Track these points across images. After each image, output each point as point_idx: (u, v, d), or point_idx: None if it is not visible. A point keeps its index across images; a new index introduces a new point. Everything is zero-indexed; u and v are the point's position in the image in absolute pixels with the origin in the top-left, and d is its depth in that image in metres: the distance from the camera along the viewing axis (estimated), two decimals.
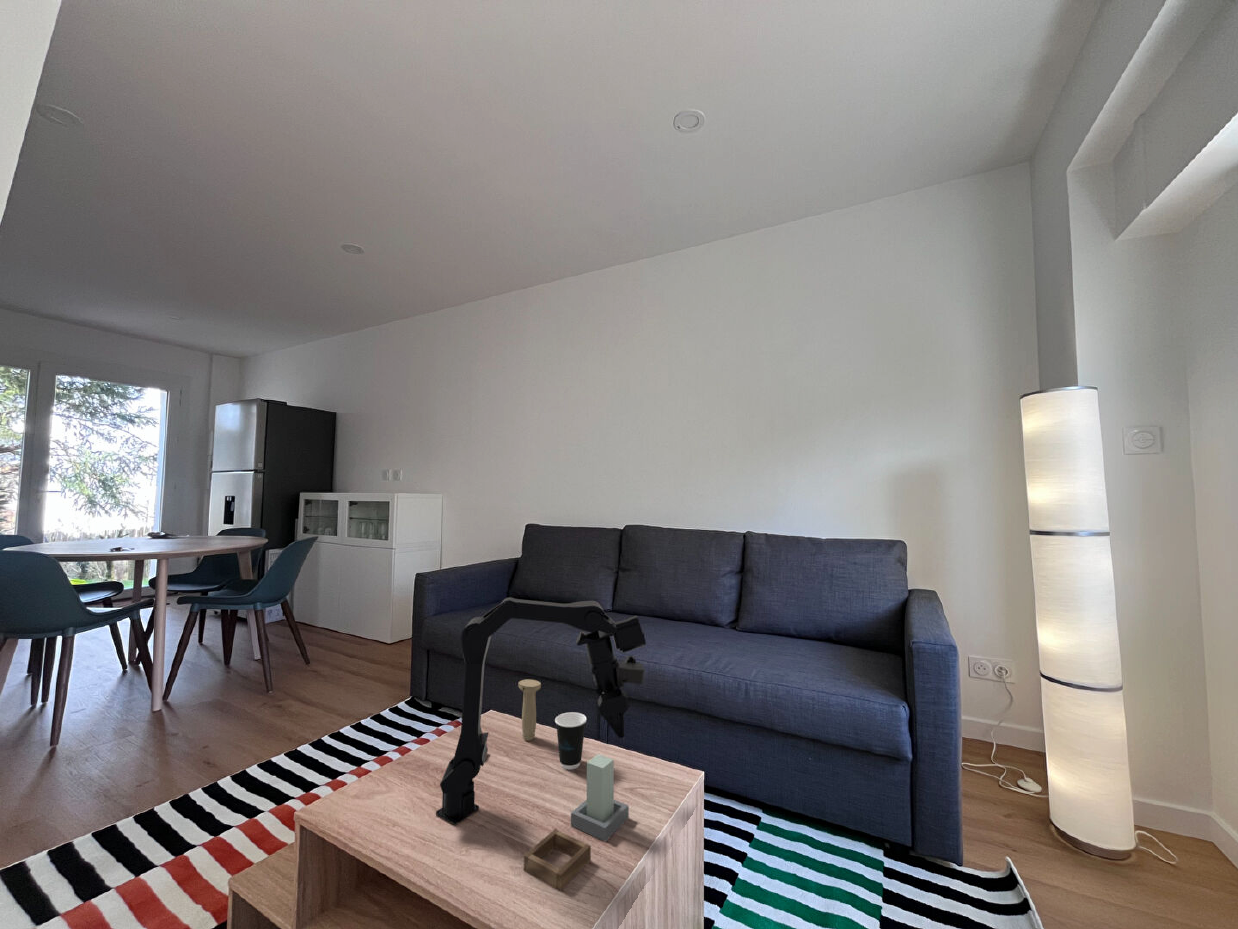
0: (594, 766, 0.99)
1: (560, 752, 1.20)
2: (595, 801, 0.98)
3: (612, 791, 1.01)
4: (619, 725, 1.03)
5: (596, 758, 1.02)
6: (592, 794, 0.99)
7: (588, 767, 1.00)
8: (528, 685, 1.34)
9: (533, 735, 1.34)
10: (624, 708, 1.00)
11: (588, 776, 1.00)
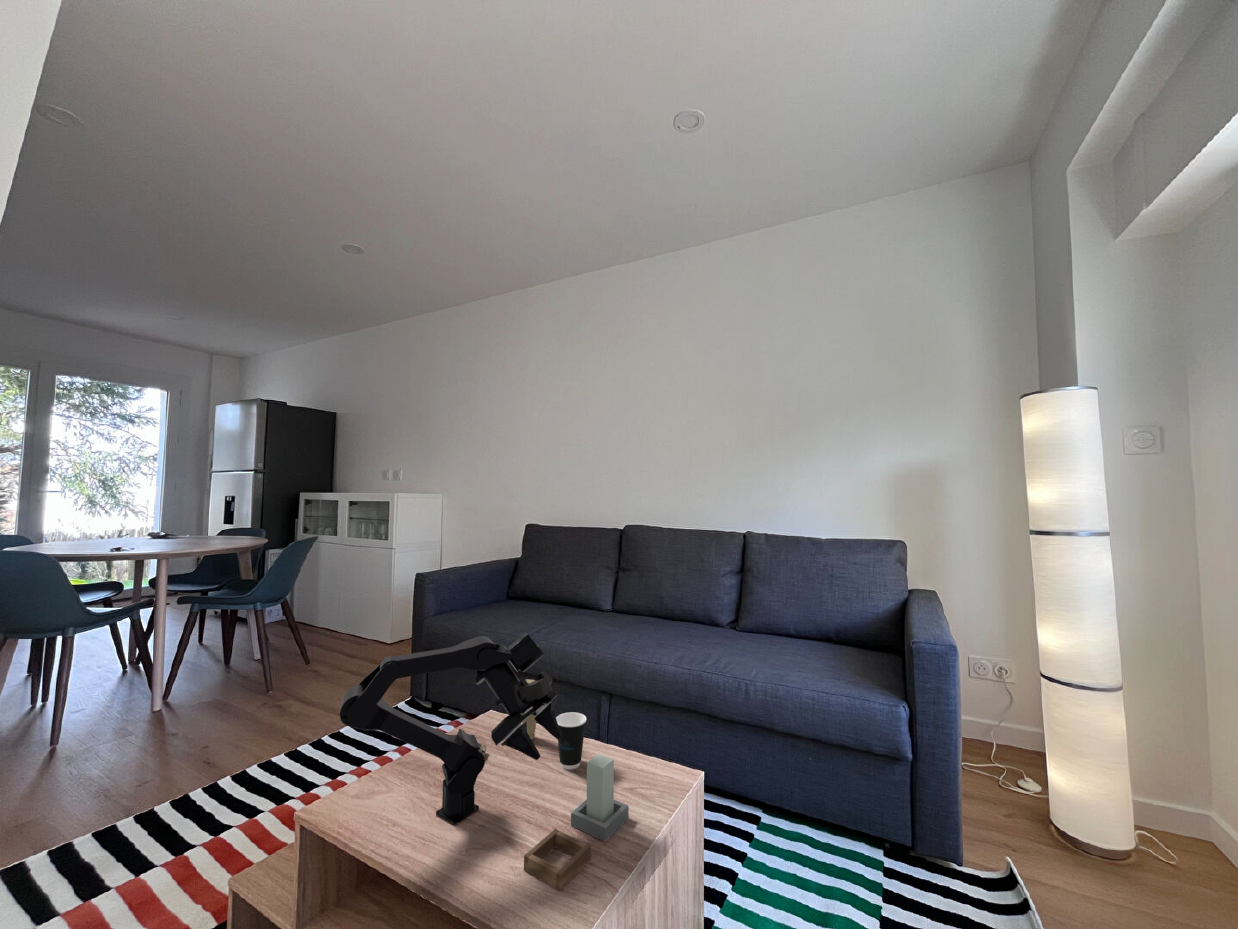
0: (594, 766, 0.99)
1: (560, 752, 1.20)
2: (595, 801, 0.98)
3: (612, 791, 1.01)
4: (527, 747, 0.99)
5: (596, 758, 1.02)
6: (592, 794, 0.99)
7: (588, 767, 1.00)
8: None
9: (533, 735, 1.34)
10: (509, 730, 0.96)
11: (588, 776, 1.00)
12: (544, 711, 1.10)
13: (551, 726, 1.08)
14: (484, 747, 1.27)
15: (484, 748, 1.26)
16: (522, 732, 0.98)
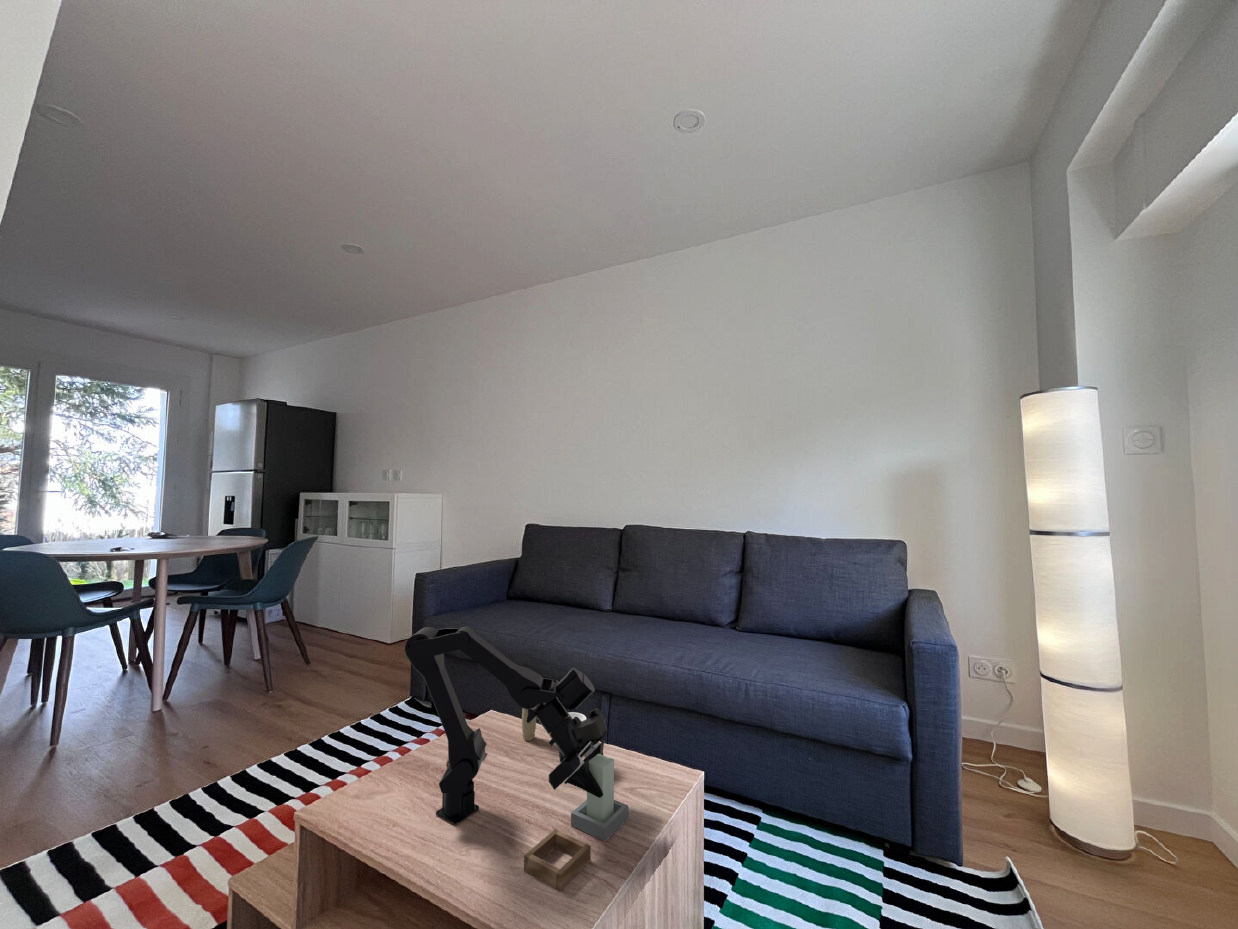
0: (594, 765, 0.99)
1: (560, 752, 1.20)
2: (595, 800, 0.99)
3: (612, 791, 1.01)
4: (590, 785, 0.97)
5: (596, 758, 1.02)
6: None
7: None
8: None
9: (533, 735, 1.34)
10: (568, 775, 0.93)
11: None
12: (593, 754, 1.05)
13: None
14: None
15: None
16: (585, 770, 0.97)
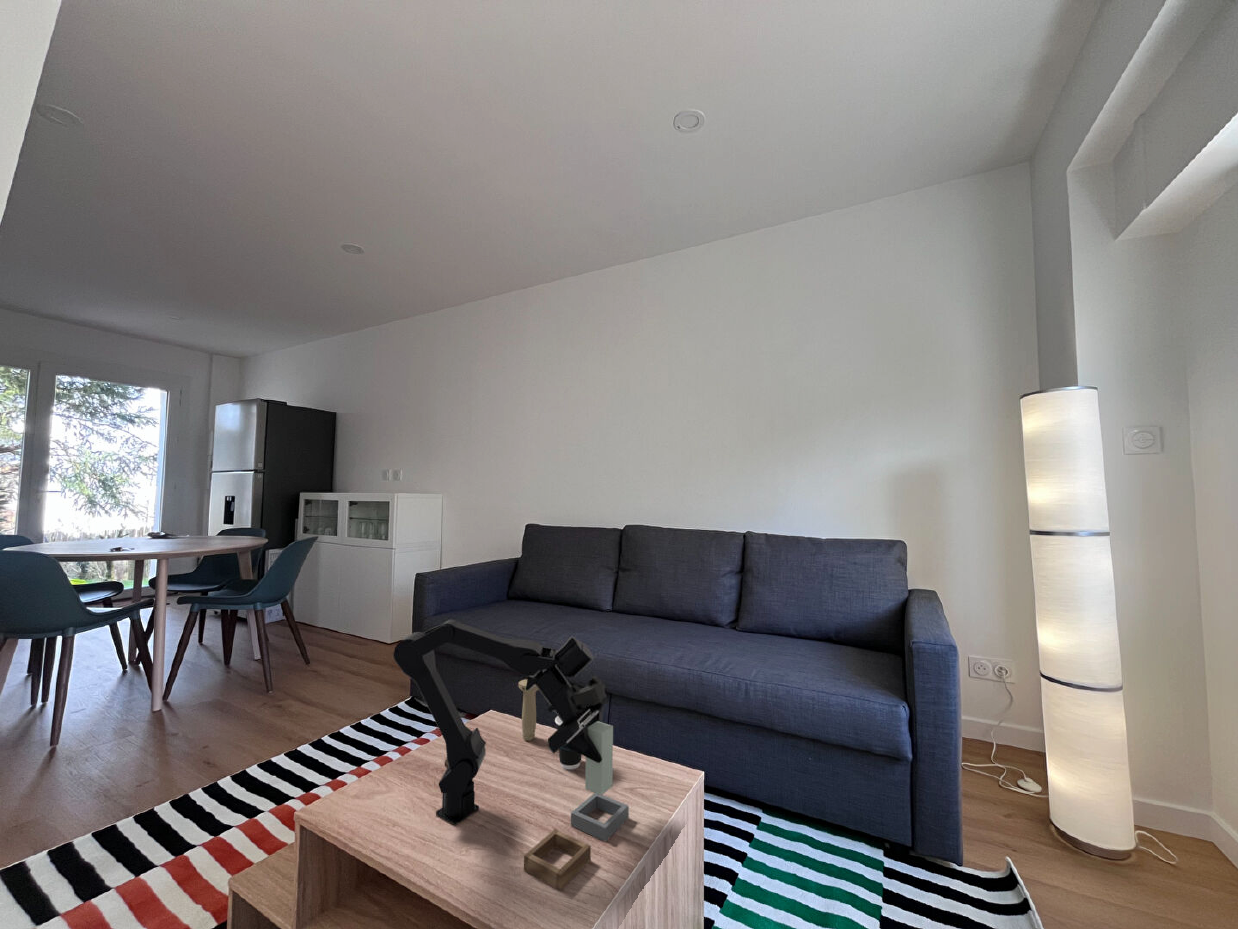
0: (593, 731, 0.99)
1: (560, 752, 1.20)
2: (594, 766, 0.99)
3: (611, 757, 1.01)
4: (589, 750, 0.98)
5: (595, 724, 1.02)
6: None
7: None
8: None
9: (533, 735, 1.34)
10: (567, 738, 0.93)
11: None
12: (592, 721, 1.05)
13: None
14: None
15: None
16: (584, 735, 0.97)
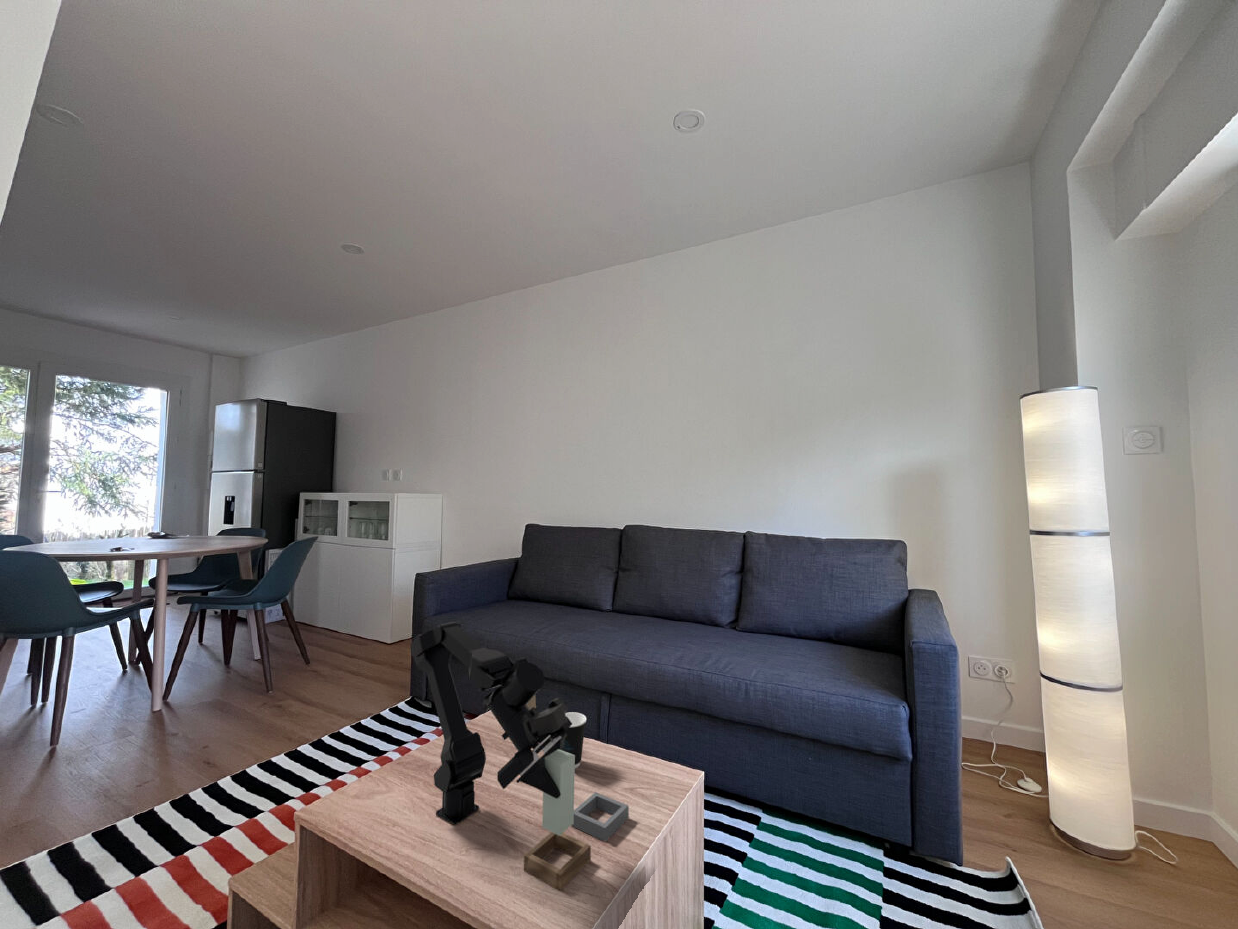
0: (551, 762, 0.88)
1: None
2: (552, 801, 0.87)
3: (572, 791, 0.89)
4: (546, 784, 0.86)
5: (555, 753, 0.91)
6: None
7: (545, 763, 0.89)
8: None
9: None
10: (518, 772, 0.82)
11: None
12: (552, 749, 0.93)
13: None
14: None
15: None
16: (540, 767, 0.86)
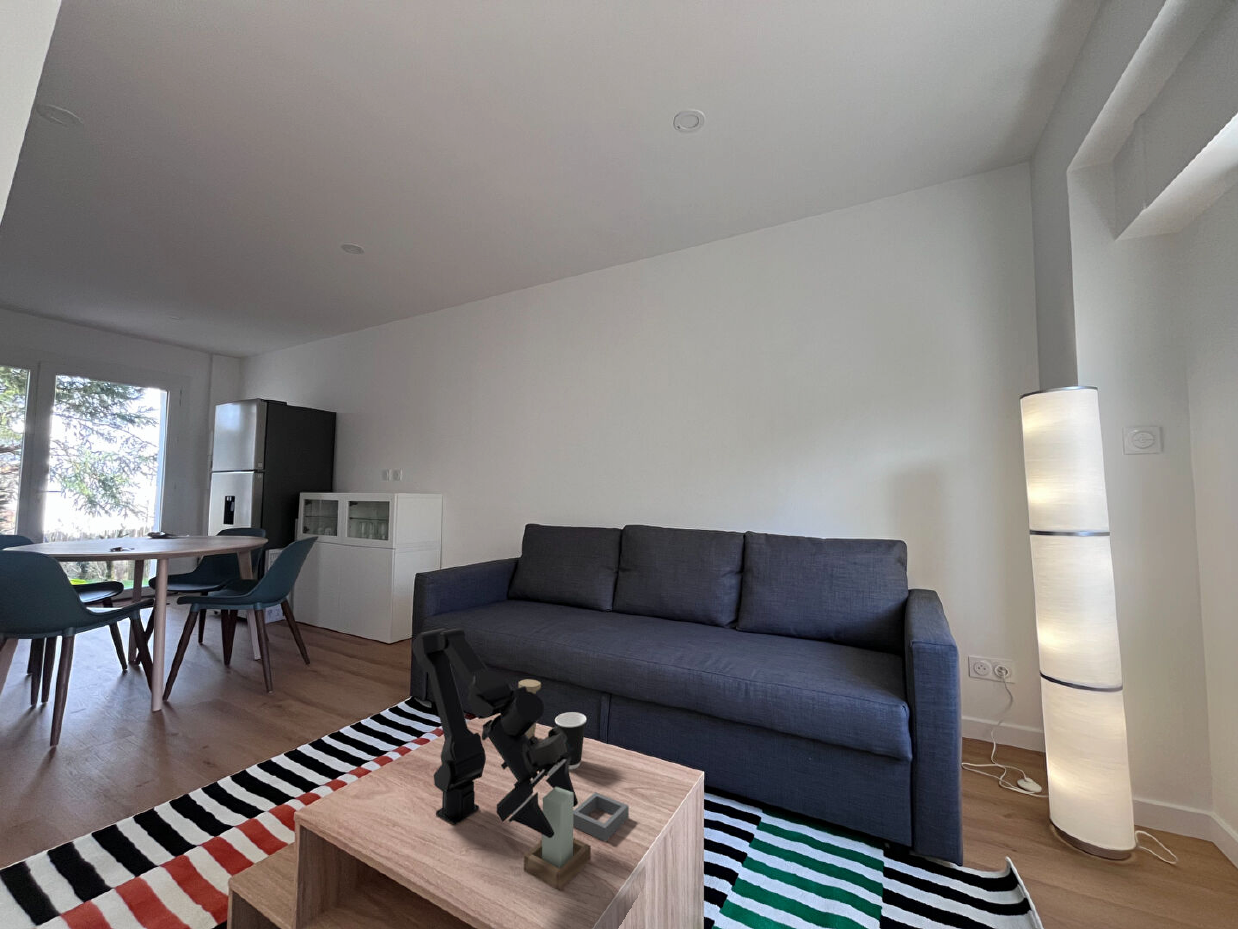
0: (551, 802, 0.87)
1: None
2: (552, 842, 0.87)
3: (571, 829, 0.89)
4: (539, 823, 0.84)
5: (553, 792, 0.90)
6: None
7: (544, 803, 0.88)
8: (528, 685, 1.34)
9: (533, 735, 1.34)
10: (518, 805, 0.81)
11: (544, 813, 0.88)
12: (557, 772, 0.95)
13: None
14: None
15: None
16: (533, 806, 0.83)
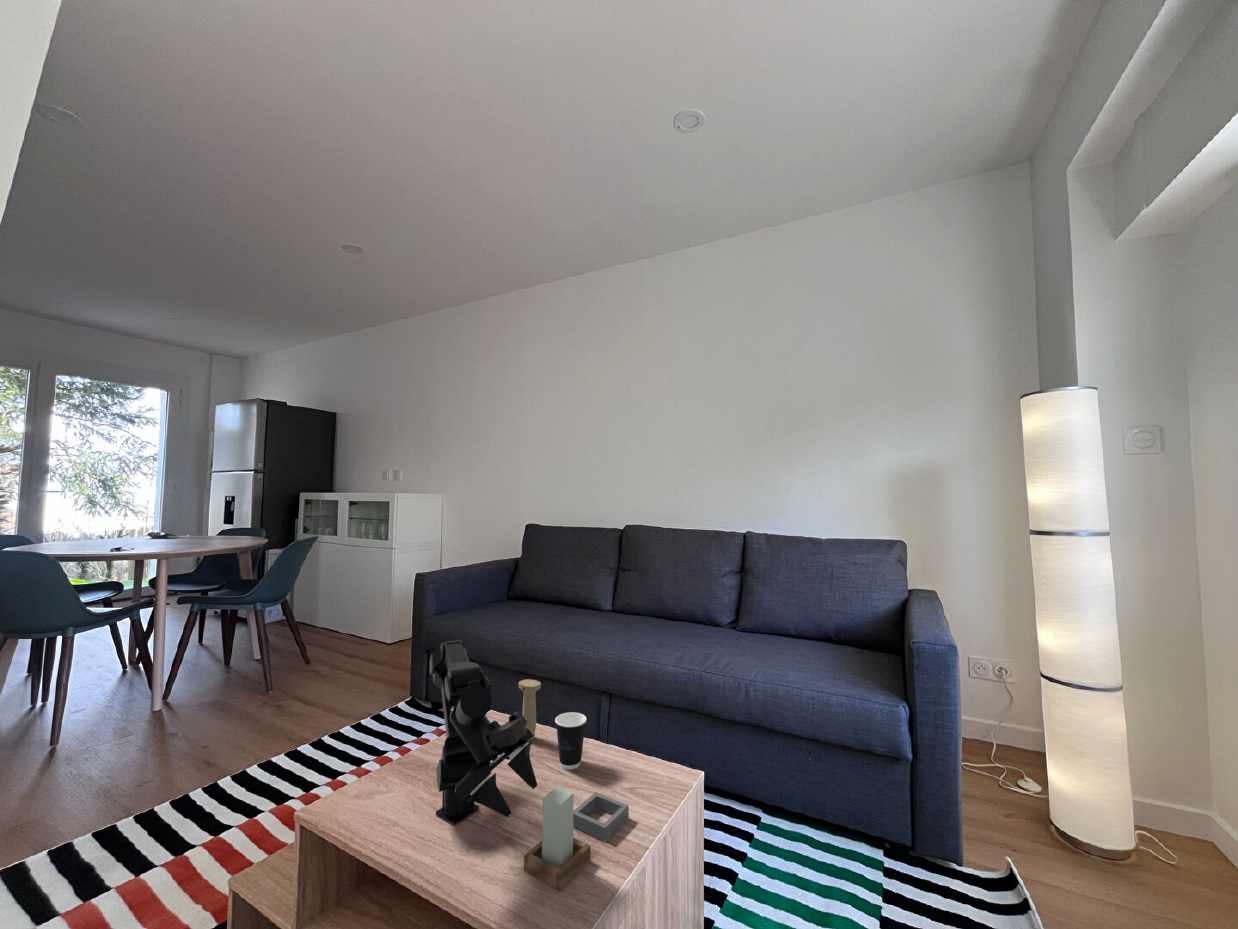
0: (551, 802, 0.87)
1: (560, 752, 1.20)
2: (552, 842, 0.87)
3: (571, 829, 0.89)
4: (496, 803, 0.87)
5: (553, 792, 0.90)
6: (549, 834, 0.87)
7: (544, 803, 0.88)
8: (528, 685, 1.34)
9: (533, 735, 1.34)
10: (475, 785, 0.85)
11: (544, 813, 0.88)
12: (518, 756, 0.98)
13: (526, 773, 0.97)
14: None
15: None
16: (490, 786, 0.87)
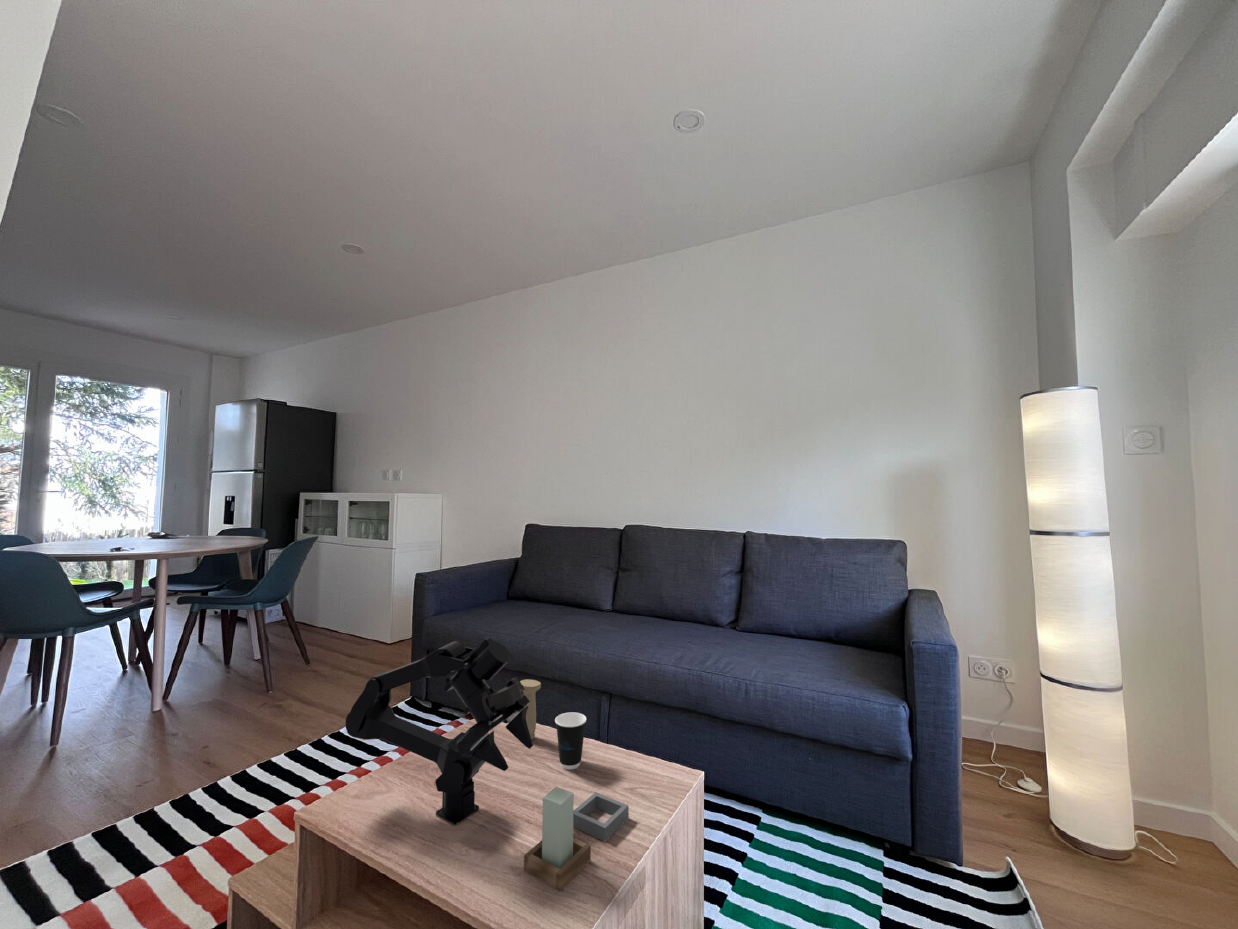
0: (551, 802, 0.87)
1: (560, 752, 1.20)
2: (552, 842, 0.87)
3: (571, 829, 0.89)
4: (494, 758, 0.94)
5: (553, 792, 0.90)
6: (549, 834, 0.87)
7: (544, 803, 0.88)
8: (528, 685, 1.34)
9: (533, 735, 1.34)
10: (474, 740, 0.92)
11: (544, 813, 0.88)
12: (515, 719, 1.06)
13: (522, 735, 1.04)
14: None
15: None
16: (489, 742, 0.94)
